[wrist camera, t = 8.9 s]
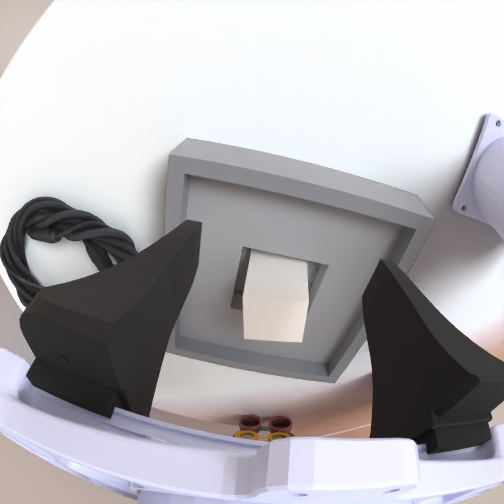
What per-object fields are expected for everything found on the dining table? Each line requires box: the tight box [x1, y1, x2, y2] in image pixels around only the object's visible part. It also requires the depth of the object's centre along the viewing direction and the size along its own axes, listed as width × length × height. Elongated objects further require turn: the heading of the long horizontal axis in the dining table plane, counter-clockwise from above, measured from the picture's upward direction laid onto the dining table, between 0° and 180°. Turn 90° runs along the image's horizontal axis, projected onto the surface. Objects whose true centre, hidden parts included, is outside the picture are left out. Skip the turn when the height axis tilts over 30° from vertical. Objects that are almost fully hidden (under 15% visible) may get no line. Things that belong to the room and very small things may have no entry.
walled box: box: [164, 138, 435, 383], centre depth 23 cm, size 16×18×4 cm
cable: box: [0, 197, 138, 308], centre depth 25 cm, size 17×14×4 cm
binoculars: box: [232, 415, 295, 442], centre depth 37 cm, size 9×9×10 cm
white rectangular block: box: [243, 249, 309, 342], centre depth 22 cm, size 4×4×6 cm
